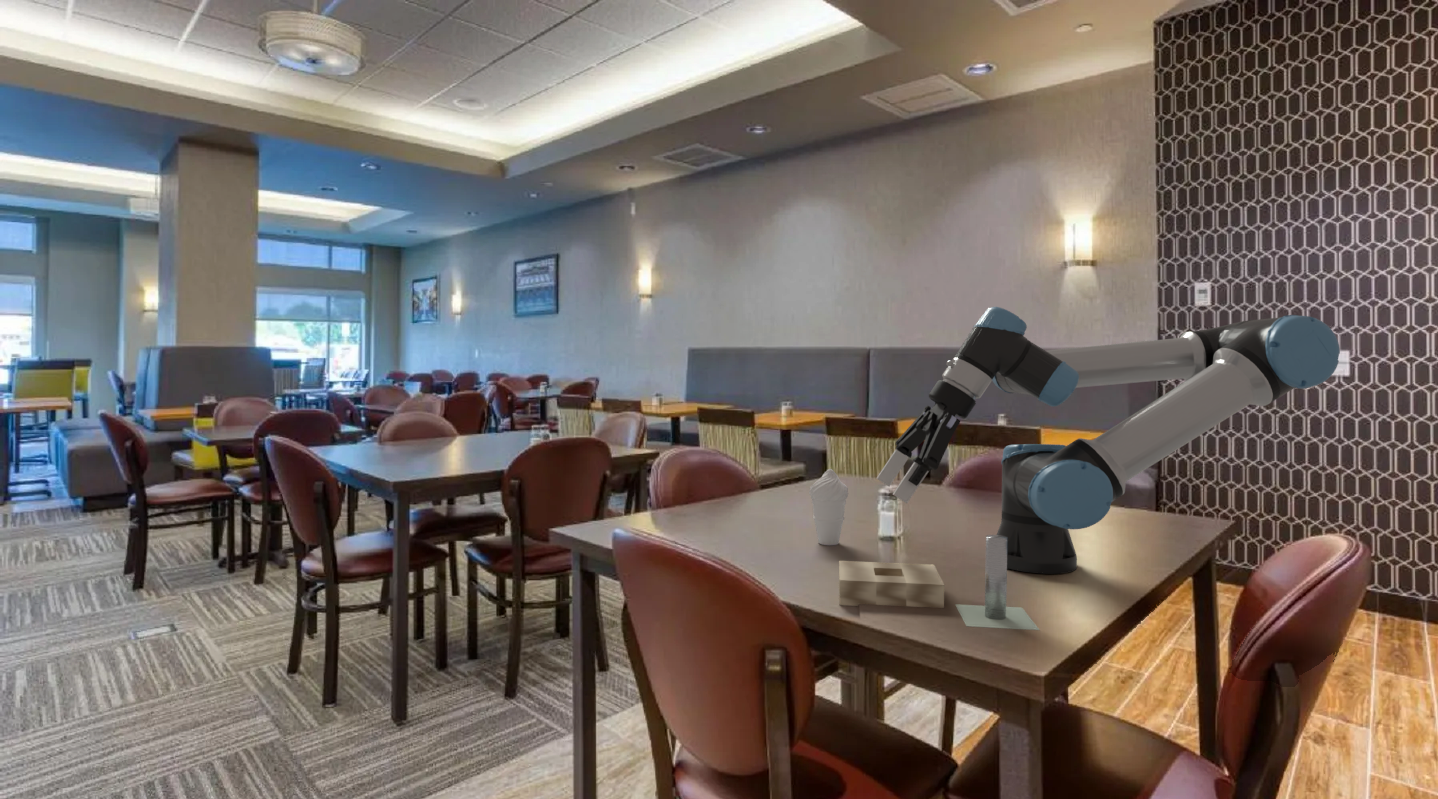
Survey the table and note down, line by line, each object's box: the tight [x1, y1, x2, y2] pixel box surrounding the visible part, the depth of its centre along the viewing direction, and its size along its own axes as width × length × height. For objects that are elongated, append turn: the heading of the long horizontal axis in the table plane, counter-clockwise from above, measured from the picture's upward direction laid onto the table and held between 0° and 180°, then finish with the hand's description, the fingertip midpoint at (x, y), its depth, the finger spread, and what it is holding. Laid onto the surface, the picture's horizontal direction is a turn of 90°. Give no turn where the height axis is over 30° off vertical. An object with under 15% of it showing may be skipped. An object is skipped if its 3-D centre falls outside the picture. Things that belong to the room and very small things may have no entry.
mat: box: [954, 603, 1040, 631], centre depth 111 cm, size 10×10×1 cm
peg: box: [984, 534, 1008, 620], centre depth 111 cm, size 3×3×12 cm
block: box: [838, 560, 945, 609], centre depth 122 cm, size 16×12×4 cm
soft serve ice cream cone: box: [808, 468, 849, 546], centre depth 159 cm, size 8×8×16 cm
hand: (890, 490), depth 131 cm, fingers open, 13 cm apart
